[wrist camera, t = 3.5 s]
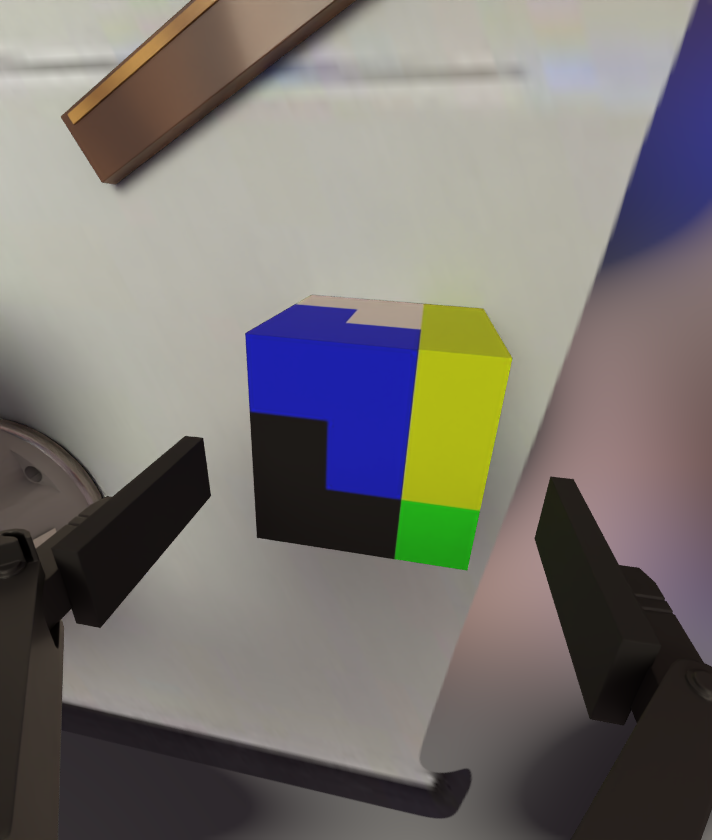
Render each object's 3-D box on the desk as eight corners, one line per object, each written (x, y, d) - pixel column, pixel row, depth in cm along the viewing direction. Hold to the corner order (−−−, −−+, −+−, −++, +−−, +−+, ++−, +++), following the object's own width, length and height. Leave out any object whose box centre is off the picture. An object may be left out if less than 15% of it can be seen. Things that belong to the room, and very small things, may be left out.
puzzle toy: (311, 294, 26) (245, 333, 17) (483, 308, 24) (512, 358, 15) (310, 443, 30) (257, 537, 21) (456, 461, 29) (467, 570, 20)
